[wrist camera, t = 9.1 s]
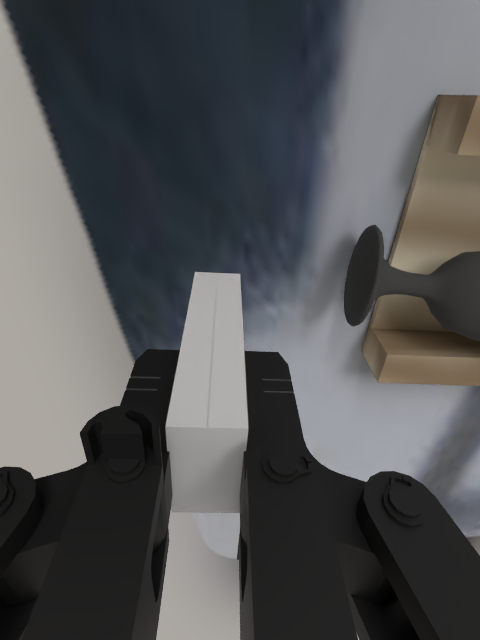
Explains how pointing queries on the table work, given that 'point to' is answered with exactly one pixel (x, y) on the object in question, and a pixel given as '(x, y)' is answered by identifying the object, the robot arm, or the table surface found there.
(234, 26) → the table surface
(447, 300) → the sundae
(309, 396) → the table surface
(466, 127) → the rest
